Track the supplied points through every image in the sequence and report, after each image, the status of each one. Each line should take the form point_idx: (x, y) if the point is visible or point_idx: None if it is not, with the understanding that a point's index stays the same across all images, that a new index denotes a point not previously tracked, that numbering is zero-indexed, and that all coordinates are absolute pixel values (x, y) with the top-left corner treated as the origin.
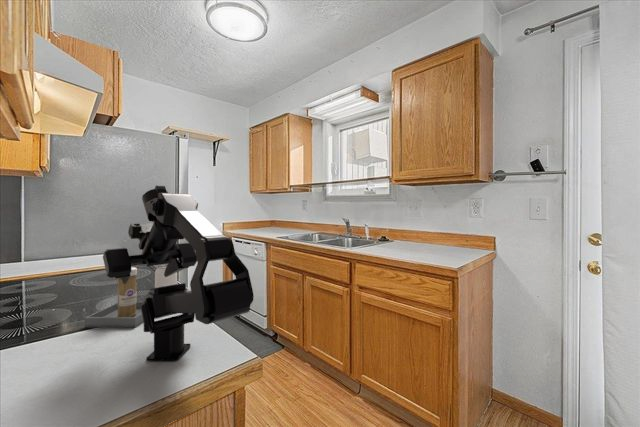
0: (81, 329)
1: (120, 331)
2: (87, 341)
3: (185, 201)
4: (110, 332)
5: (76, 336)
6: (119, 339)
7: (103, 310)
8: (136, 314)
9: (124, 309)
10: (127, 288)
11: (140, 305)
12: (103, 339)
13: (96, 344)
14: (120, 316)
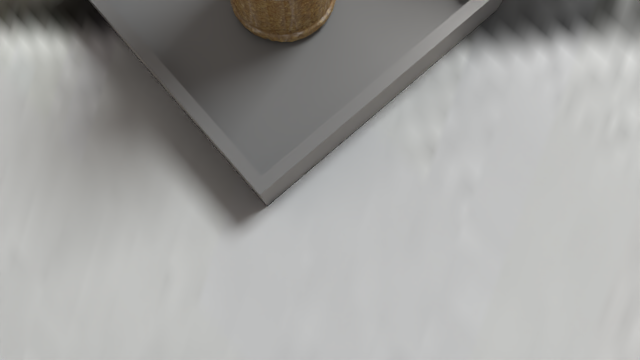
0: (58, 5)
1: (189, 199)
2: (24, 215)
3: None
4: (146, 171)
5: (10, 95)
6: (145, 324)
7: None
8: (335, 9)
9: (248, 5)
10: None
11: None
12: (88, 252)
13: (41, 299)
14: (237, 13)
